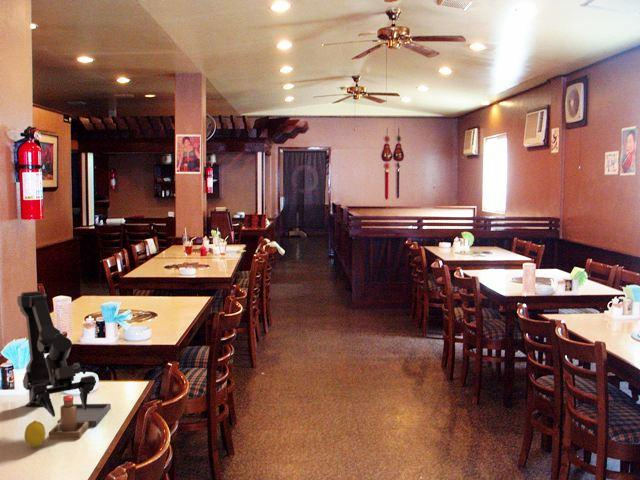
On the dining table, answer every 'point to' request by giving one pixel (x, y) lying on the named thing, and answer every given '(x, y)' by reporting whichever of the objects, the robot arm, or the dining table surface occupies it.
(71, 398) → the bottle
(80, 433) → the stand
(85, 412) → the tray
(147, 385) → the dining table surface
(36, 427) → the lemon
